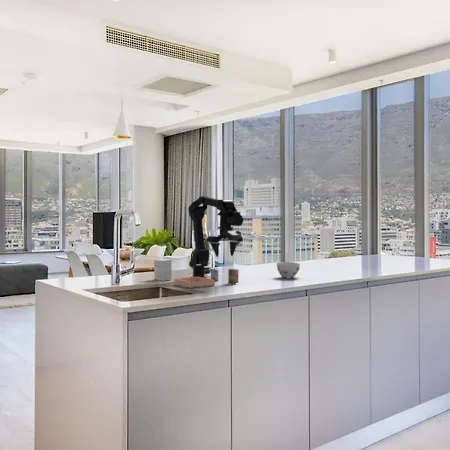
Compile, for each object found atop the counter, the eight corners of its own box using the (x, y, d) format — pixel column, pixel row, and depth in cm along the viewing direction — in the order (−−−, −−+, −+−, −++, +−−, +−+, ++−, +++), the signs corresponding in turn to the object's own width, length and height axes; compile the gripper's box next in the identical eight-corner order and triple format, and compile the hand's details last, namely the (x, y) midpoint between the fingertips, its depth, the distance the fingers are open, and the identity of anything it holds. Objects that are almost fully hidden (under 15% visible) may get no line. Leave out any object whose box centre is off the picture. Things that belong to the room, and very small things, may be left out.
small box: (171, 280, 267) (171, 259, 266) (162, 281, 263) (162, 260, 263) (162, 278, 273) (163, 258, 272) (153, 279, 269) (154, 259, 269)
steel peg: (209, 280, 266) (209, 269, 266) (215, 280, 269) (215, 268, 269) (213, 281, 263) (213, 269, 263) (219, 281, 266) (220, 269, 265)
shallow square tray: (174, 284, 250) (174, 278, 250) (198, 282, 258) (198, 276, 258) (190, 288, 239) (190, 282, 239) (214, 286, 247) (214, 279, 247)
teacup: (287, 279, 273) (287, 264, 272) (271, 277, 283) (271, 262, 282) (307, 277, 281) (307, 263, 281) (291, 275, 292) (291, 261, 291)
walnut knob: (226, 283, 257) (226, 269, 257) (234, 282, 260) (234, 268, 260) (232, 284, 253) (232, 270, 253) (240, 283, 256) (240, 269, 256)
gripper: (220, 226, 245) (219, 258, 246) (250, 225, 256) (249, 257, 257) (206, 224, 254) (205, 256, 255) (236, 224, 265) (235, 254, 266)
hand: (224, 256), depth 258 cm, fingers open, 9 cm apart
